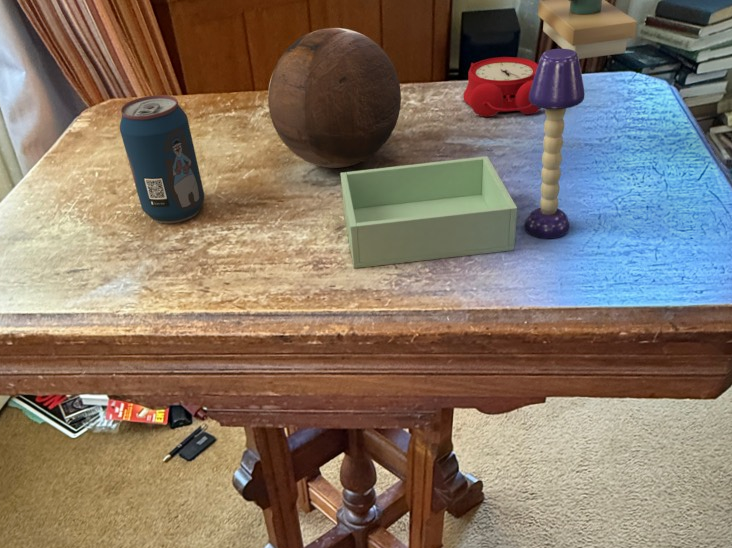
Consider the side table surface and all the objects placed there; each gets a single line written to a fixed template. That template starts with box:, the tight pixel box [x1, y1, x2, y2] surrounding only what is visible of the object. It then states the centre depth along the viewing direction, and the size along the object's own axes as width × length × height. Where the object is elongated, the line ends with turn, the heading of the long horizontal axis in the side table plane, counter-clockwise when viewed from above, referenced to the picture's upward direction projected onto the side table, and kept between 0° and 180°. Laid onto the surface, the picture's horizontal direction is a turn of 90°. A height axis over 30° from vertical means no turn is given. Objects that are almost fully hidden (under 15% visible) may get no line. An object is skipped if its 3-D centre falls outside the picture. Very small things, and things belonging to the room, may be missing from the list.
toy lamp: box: [524, 48, 585, 239], centre depth 65 cm, size 5×5×17 cm
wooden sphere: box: [267, 27, 402, 169], centre depth 81 cm, size 15×15×15 cm
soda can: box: [119, 94, 205, 225], centre depth 76 cm, size 7×7×12 cm
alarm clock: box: [462, 56, 542, 118], centre depth 94 cm, size 10×6×15 cm
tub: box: [340, 155, 518, 269], centre depth 71 cm, size 15×11×4 cm
